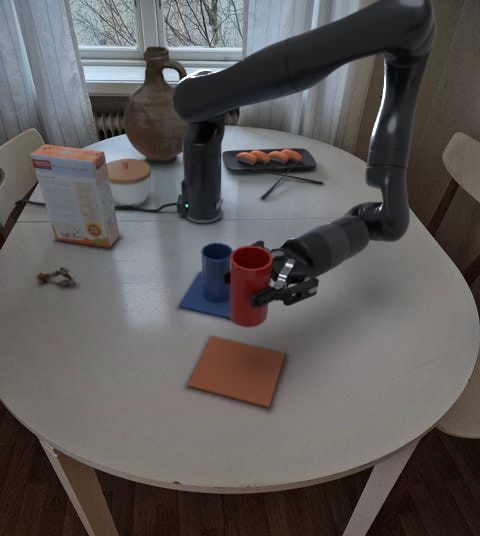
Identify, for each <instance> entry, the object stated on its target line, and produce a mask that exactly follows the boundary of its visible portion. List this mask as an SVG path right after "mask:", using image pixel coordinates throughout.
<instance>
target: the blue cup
mask: <svg viewBox="0 0 480 536" xmlns="http://www.w3.org/2000/svg"><path fill="white" fill-rule="evenodd" d="M233 251H234V249H233V248H232V247H231V246H230V245H228V244H226V243H223V242H211V243H208V244H205V245H204V246H202V248H201V251H200V259H201V261H200V262H201V272H202V293H203V297H204V298H205V299H206V300H207V301H210V302H212V303H222V302H225V301H227V300H228V299H229V286H230V283H229V284H227V285H226V284H224V283H223V282H222V273H223V271H224V270H225V269H226V268H229V267H230V256H231V254H232V252H233Z"/></svg>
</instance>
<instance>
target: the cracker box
mask: <svg viewBox="0 0 480 536" xmlns="http://www.w3.org/2000/svg"><path fill="white" fill-rule="evenodd" d="M29 155H30V158H31V161H32V166H33V168H34V171H35V176H36V178H37V181H38V185H39V188H40V192H41V195H42V197H43V203H45V205H46V206H45V208H46V211H47V215H48V219H49V223H50V225H51V228H52V232H53V236H54V238H55V240H56V241H60V242H61V241H62V242H68V243H74V244H79V245H87V246H93V247H99V248H106V249H111V248H112V246H113V245H115V243H116V241H118V239H119V238H120V230H119V225H118V219H117V213H116V209H115V208H114V206H115V202H114V200H113V197H112V192H111V186H110V181H109V175H108V170H107V165H106V164H107V160H106V155H105V151H102V150H93V149H87V148H86V149H84V148H78V147H77V148H76V147H70V146H61V145H53V144H47V143H46V144H43V145H41V146H40V147H39V148H37V149H36V150H34V151H33V152H31V153H29Z"/></svg>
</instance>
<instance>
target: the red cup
mask: <svg viewBox="0 0 480 536" xmlns="http://www.w3.org/2000/svg"><path fill="white" fill-rule="evenodd" d="M272 264H273V258H272V255H271V253H270V252H268V251H267V250H266V249H264V248H261V247H258V246H250V245H244V246H240V247H237V248H235V249H233V252H232V254H231V256H230V286H229V315H230V318H231V319H230V320H231V321H232V322H233V323H234V324H236V325H237V326H240V327H244V328H255V327H258V326H260V325H262V324H264V322H265V321H266V320H267V317H268V311H269V304H270V303H268V304H266V305H264V306H262V307H256V308H253V307H252V306H250V297H251V295H252V294H254V293H256V292H258V291H260V290H262V289H264V288H266V287H268V286H271V283H272V279H271V274H272Z"/></svg>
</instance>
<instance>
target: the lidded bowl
mask: <svg viewBox="0 0 480 536" xmlns="http://www.w3.org/2000/svg"><path fill="white" fill-rule="evenodd" d="M106 165H107V170H108V175H109V181H110V186H111V192H112V197H113V202H114V203H117V205H118V206H133V207H140V206H141V205H143V204H144V203H145V201H146V200H147V198H148V197H149V195H150V193H151V190H152V167H151V165H150V164H149V163H148V162H146V161H144V160H141V159H136V158H121V159H116V160H111V161H109V162H106Z"/></svg>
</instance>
